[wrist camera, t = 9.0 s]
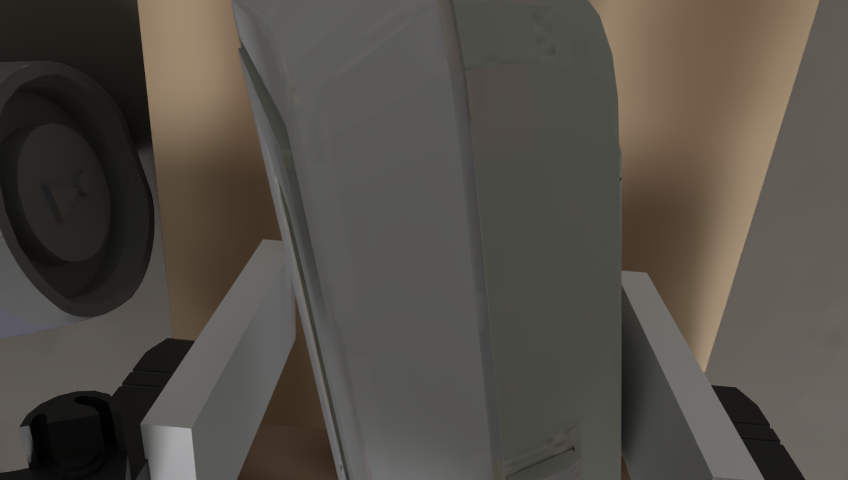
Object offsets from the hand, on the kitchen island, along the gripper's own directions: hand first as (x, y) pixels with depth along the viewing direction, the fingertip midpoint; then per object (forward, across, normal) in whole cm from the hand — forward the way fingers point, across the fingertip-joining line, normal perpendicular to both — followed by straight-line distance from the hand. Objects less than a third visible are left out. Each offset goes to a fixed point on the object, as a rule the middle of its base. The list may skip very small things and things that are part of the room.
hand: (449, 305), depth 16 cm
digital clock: (+1, +1, 0) cm, 1 cm away
